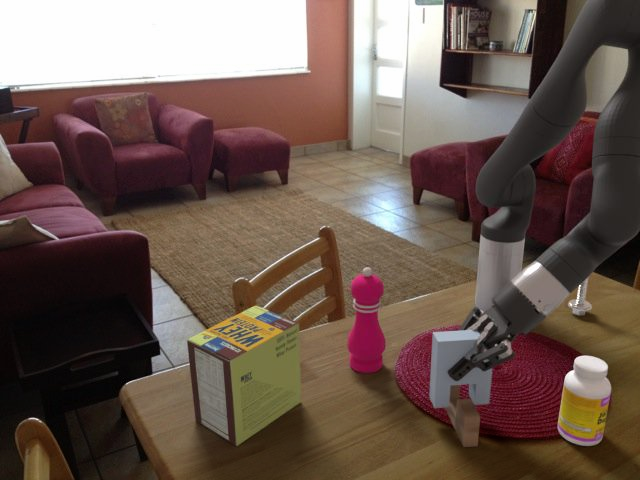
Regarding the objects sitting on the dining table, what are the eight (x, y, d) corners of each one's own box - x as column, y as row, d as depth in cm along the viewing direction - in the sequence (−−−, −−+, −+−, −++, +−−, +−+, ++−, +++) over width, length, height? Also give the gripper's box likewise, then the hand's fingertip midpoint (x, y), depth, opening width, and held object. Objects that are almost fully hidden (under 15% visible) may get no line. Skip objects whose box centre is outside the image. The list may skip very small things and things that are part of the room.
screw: (567, 316, 133) (566, 306, 137) (591, 319, 131) (589, 309, 136) (575, 261, 128) (574, 253, 133) (600, 264, 127) (598, 255, 131)
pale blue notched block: (434, 408, 97) (437, 341, 93) (429, 397, 100) (432, 332, 96) (489, 403, 98) (495, 338, 94) (482, 393, 101) (488, 328, 96)
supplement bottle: (598, 453, 92) (611, 380, 87) (552, 438, 95) (563, 367, 91) (605, 429, 97) (618, 359, 93) (561, 415, 100) (572, 347, 96)
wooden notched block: (433, 384, 109) (435, 357, 107) (445, 383, 110) (447, 356, 108) (463, 447, 93) (466, 417, 92) (477, 446, 94) (480, 416, 92)
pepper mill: (390, 359, 117) (393, 263, 110) (377, 378, 111) (379, 278, 104) (355, 351, 120) (356, 257, 113) (341, 369, 114) (341, 271, 107)
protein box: (302, 401, 105) (300, 321, 100) (236, 448, 94) (229, 361, 89) (260, 380, 111) (255, 303, 106) (193, 421, 100) (184, 338, 95)
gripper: (497, 264, 99) (421, 335, 102) (534, 302, 86) (445, 382, 89) (526, 292, 101) (450, 361, 104) (566, 333, 88) (478, 410, 91)
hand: (448, 370), depth 97 cm, fingers closed on pale blue notched block, 3 cm apart
